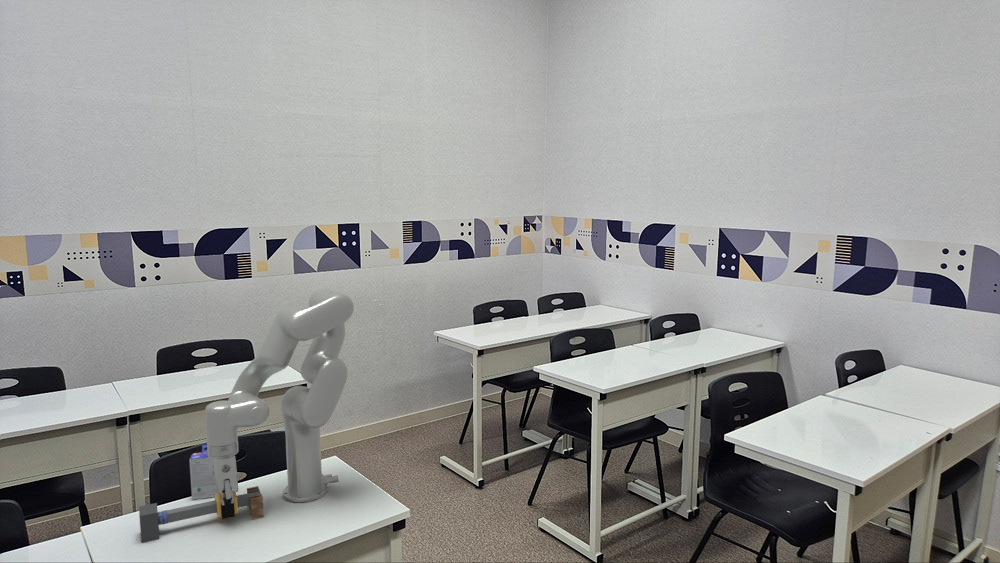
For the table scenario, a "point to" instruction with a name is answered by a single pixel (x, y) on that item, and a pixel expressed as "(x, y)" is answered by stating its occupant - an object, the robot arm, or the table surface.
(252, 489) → the brown wooden block
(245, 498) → the long gray square bar
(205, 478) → the ink cartridge box
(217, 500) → the tan sliding collar
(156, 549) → the table surface
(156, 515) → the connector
